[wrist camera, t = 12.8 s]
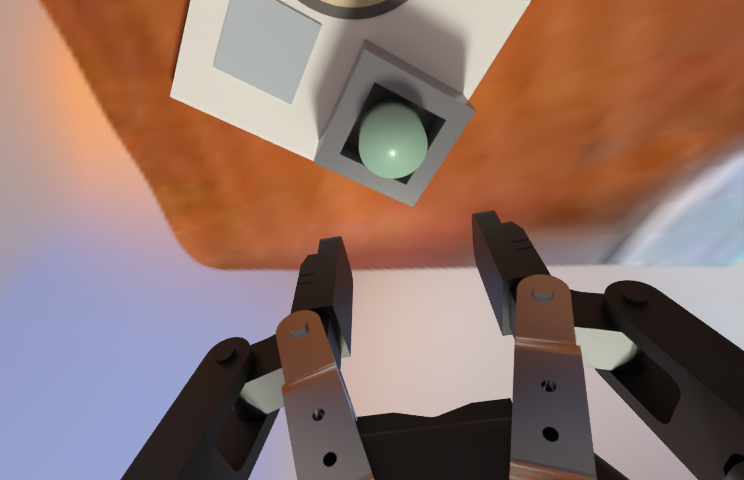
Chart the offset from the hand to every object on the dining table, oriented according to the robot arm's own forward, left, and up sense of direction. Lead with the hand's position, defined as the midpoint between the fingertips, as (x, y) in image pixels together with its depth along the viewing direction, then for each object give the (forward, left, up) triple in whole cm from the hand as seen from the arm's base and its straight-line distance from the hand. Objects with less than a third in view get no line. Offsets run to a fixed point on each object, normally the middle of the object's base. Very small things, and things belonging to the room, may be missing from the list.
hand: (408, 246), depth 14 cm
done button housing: (0, 0, -14) cm, 14 cm away
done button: (0, 0, -12) cm, 12 cm away
